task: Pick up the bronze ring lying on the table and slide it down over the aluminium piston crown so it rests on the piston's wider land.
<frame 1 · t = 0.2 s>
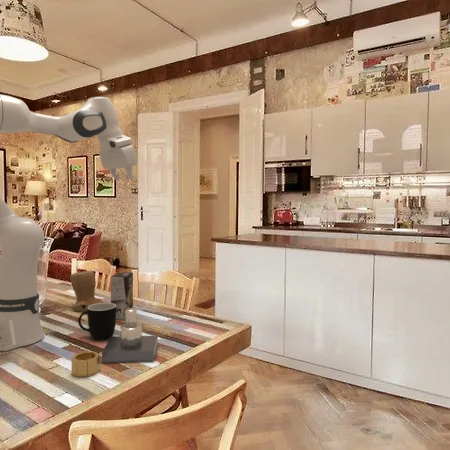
hand: (123, 179, 146), 52 cm above the table, tool tilted 20°, fingers open, 8 cm apart
coffee box: (122, 316, 149), on the table
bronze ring: (85, 371, 102), on the table
mug: (97, 337, 127), on the table
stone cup: (85, 308, 160), on the table
piston block: (131, 353, 114), on the table
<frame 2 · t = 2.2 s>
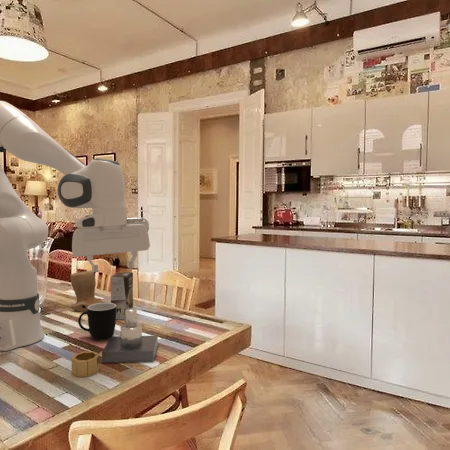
hand: (113, 269, 107), 26 cm above the table, tool pointing down, fingers open, 8 cm apart
nothing on the table moved.
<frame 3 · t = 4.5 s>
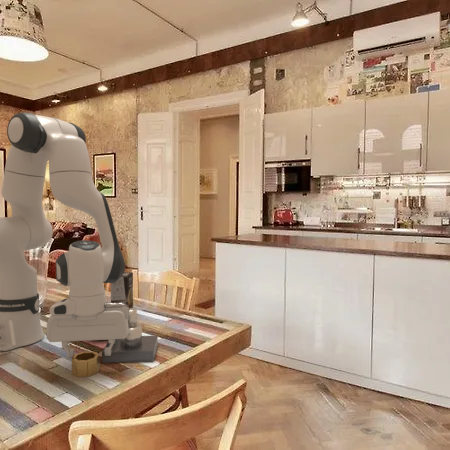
hand: (89, 356, 102), 4 cm above the table, tool pointing down, fingers open, 8 cm apart
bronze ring: (85, 371, 102), on the table, touching gripper
everything else where it was.
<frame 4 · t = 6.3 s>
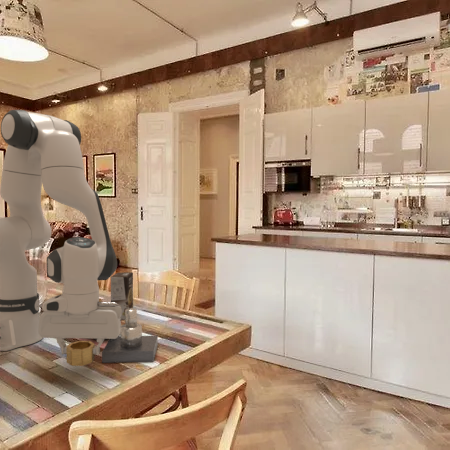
hand: (80, 353, 102), 5 cm above the table, tool pointing down, fingers closed on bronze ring, 6 cm apart
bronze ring: (80, 360, 102), point 3 cm above the table, touching gripper
everything else where it was.
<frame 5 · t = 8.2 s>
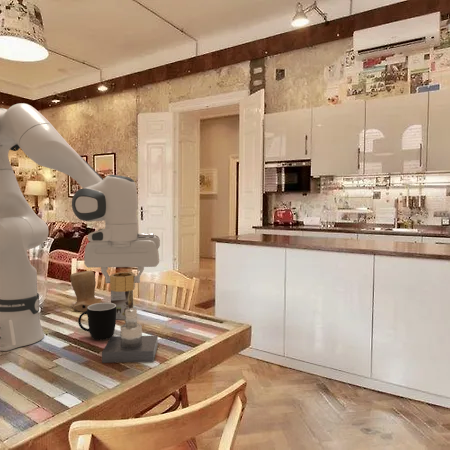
hand: (122, 282, 110), 21 cm above the table, tool pointing down, fingers closed on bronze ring, 6 cm apart
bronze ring: (122, 288, 110), point 20 cm above the table, touching gripper
everything else where it was.
when the fingers open (11 cm above the table, at t = 11.2 s): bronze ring drops 1 cm, resting on piston block.
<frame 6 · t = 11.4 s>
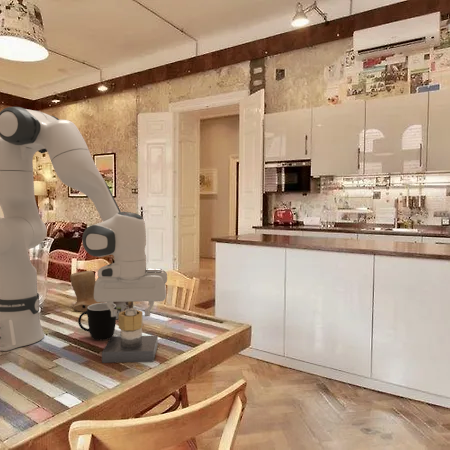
hand: (130, 316, 113), 11 cm above the table, tool pointing down, fingers open, 8 cm apart
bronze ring: (130, 326, 113), point 8 cm above the table, touching piston block
everything else where it was.
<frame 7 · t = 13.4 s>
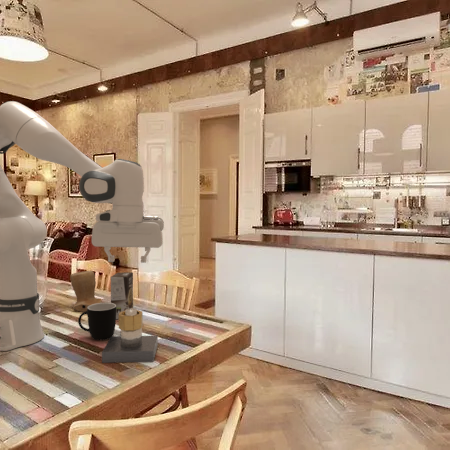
hand: (127, 262, 116), 26 cm above the table, tool pointing down, fingers open, 8 cm apart
nothing on the table moved.
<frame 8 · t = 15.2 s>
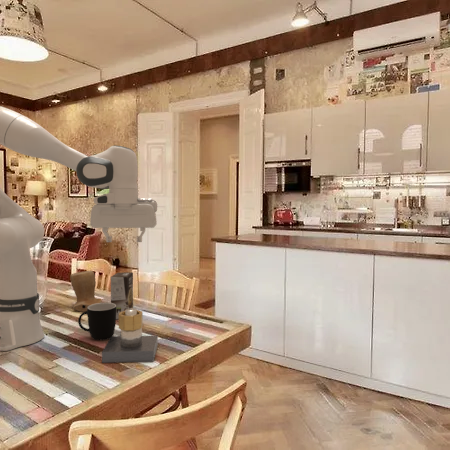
hand: (124, 241, 124), 31 cm above the table, tool pointing down, fingers open, 8 cm apart
nothing on the table moved.
at the end: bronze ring 0.1 cm off-centre on the piston block, point 8.0 cm above the piston block's base; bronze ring tilted 0°; the gripper is holding nothing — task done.
